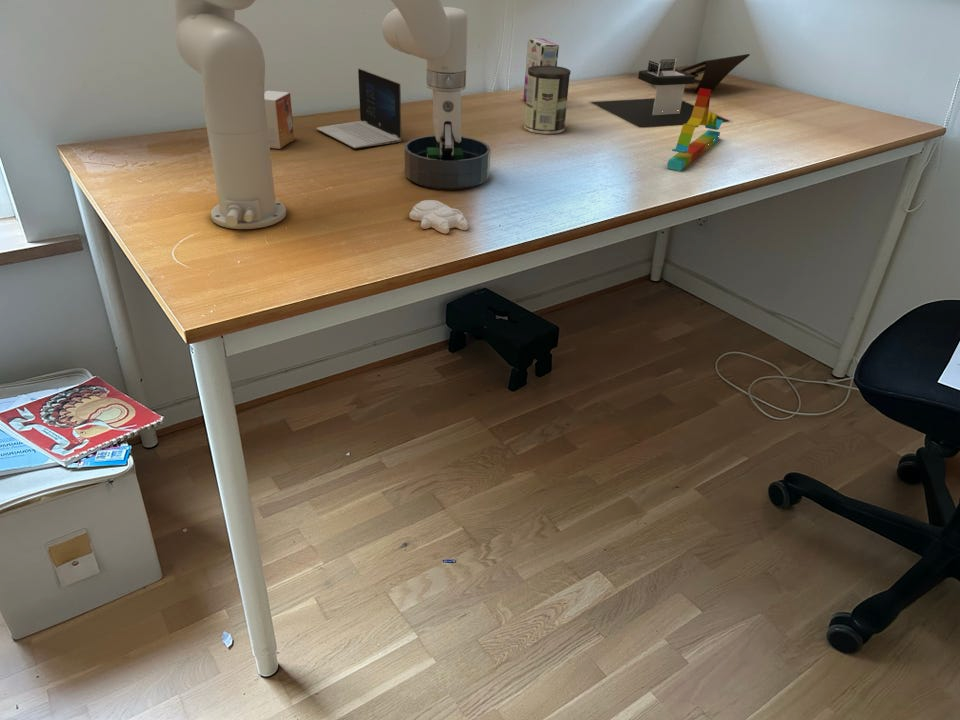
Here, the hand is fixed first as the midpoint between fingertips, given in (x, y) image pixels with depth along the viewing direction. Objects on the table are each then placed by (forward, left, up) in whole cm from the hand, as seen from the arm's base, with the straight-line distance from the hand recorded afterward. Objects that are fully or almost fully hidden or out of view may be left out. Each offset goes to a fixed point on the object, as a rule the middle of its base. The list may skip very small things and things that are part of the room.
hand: (444, 171), depth 150 cm
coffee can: (+36, -28, -1) cm, 46 cm away
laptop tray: (+84, -85, -1) cm, 119 cm away
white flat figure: (-24, +3, -1) cm, 24 cm away
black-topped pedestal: (+54, -64, -1) cm, 84 cm away
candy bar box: (+60, -31, -1) cm, 68 cm away
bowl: (0, 0, -1) cm, 1 cm away
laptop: (+28, +18, -1) cm, 33 cm away
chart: (+16, -60, -1) cm, 62 cm away
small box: (+22, +36, -1) cm, 42 cm away
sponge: (0, 0, 0) cm, 0 cm away
